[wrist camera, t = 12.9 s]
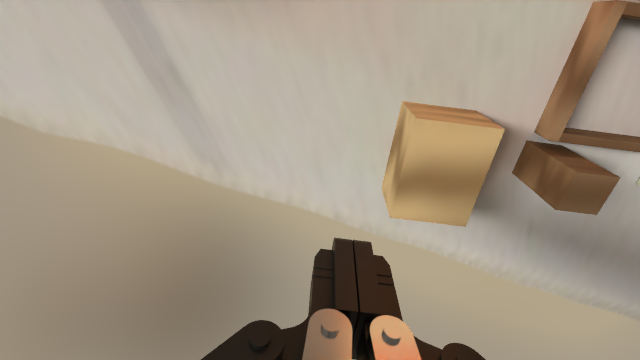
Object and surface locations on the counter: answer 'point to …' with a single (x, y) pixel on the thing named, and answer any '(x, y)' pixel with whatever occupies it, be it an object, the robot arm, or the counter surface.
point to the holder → (586, 79)
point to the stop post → (564, 178)
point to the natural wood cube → (438, 163)
